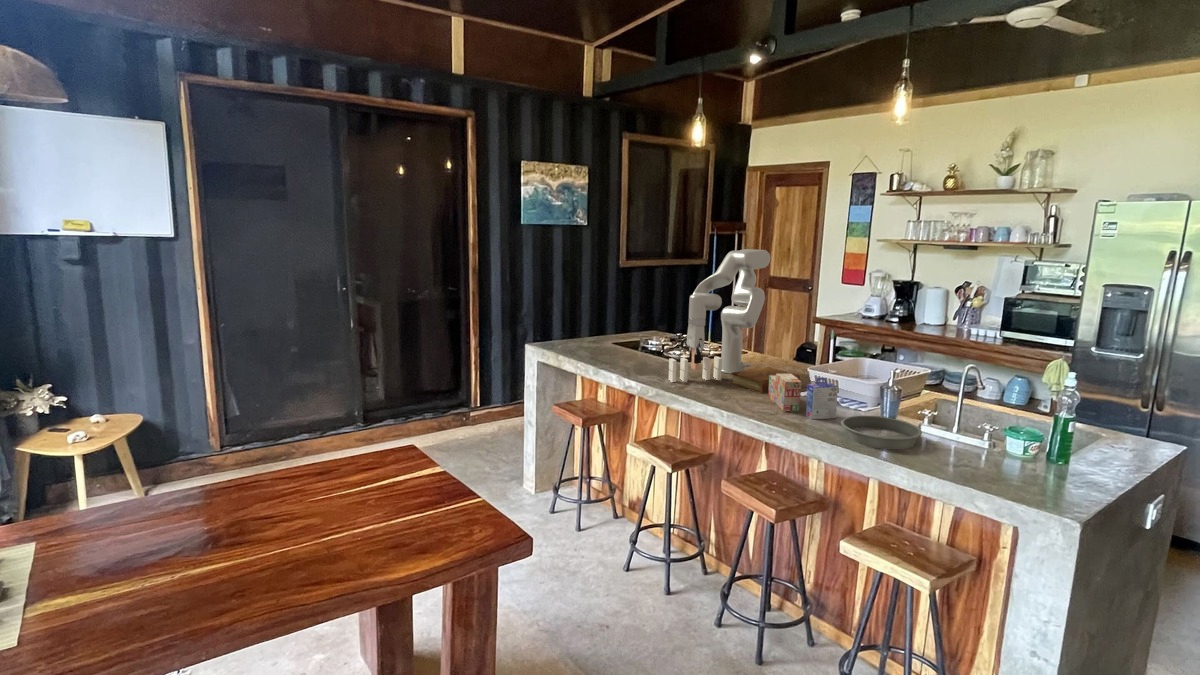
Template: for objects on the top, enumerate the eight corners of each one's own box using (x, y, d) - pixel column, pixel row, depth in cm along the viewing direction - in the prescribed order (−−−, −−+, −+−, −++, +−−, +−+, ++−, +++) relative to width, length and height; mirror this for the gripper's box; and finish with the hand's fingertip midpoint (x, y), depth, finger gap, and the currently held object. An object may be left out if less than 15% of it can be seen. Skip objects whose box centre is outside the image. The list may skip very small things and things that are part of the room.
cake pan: (934, 441, 208) (935, 428, 207) (898, 457, 193) (899, 443, 192) (863, 422, 227) (864, 410, 226) (825, 436, 212) (827, 423, 211)
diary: (761, 394, 264) (762, 381, 263) (730, 385, 280) (731, 372, 279) (799, 387, 276) (800, 374, 275) (767, 378, 292) (768, 366, 291)
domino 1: (683, 379, 287) (683, 357, 285) (687, 381, 282) (688, 360, 280) (679, 379, 287) (680, 358, 285) (683, 382, 282) (684, 360, 280)
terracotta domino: (694, 367, 287) (695, 346, 285) (698, 370, 282) (699, 348, 281) (690, 367, 287) (691, 346, 285) (695, 370, 282) (696, 348, 280)
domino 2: (705, 378, 290) (706, 356, 288) (710, 380, 285) (710, 359, 283) (702, 378, 289) (703, 357, 287) (706, 380, 284) (707, 359, 283)
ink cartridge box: (828, 414, 236) (831, 376, 233) (836, 418, 231) (839, 380, 228) (804, 415, 234) (807, 377, 232) (811, 419, 229) (814, 381, 226)
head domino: (671, 379, 286) (672, 358, 284) (675, 382, 281) (676, 360, 279) (668, 380, 285) (669, 358, 283) (672, 382, 280) (673, 360, 279)
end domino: (716, 377, 291) (717, 356, 289) (721, 380, 286) (722, 358, 284) (713, 377, 291) (714, 356, 289) (717, 380, 286) (718, 358, 284)
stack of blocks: (767, 397, 259) (769, 368, 257) (782, 397, 259) (784, 368, 257) (783, 412, 238) (785, 380, 236) (799, 412, 238) (801, 381, 236)
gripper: (682, 319, 288) (680, 358, 291) (696, 325, 272) (694, 366, 275) (697, 319, 290) (695, 357, 293) (712, 324, 274) (710, 365, 277)
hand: (695, 361), depth 284 cm, fingers closed on terracotta domino, 4 cm apart
